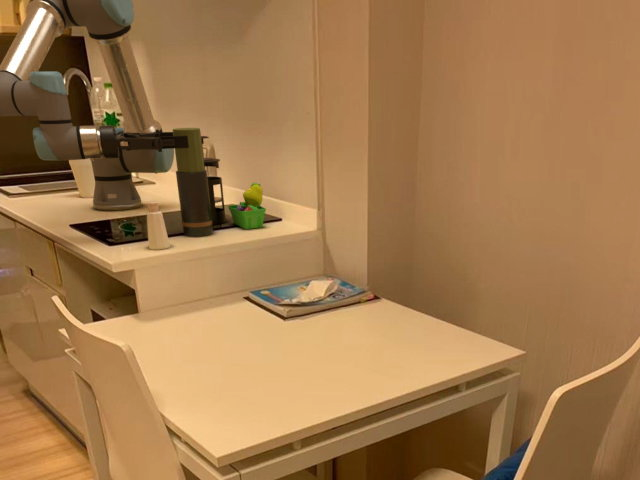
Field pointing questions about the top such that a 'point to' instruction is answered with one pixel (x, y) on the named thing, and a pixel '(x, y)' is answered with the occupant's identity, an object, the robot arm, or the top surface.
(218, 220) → the french press
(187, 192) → the flask
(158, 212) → the salt shaker
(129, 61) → the robot arm
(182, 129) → the olive tea canister
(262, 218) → the fruit basket
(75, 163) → the foam cup
